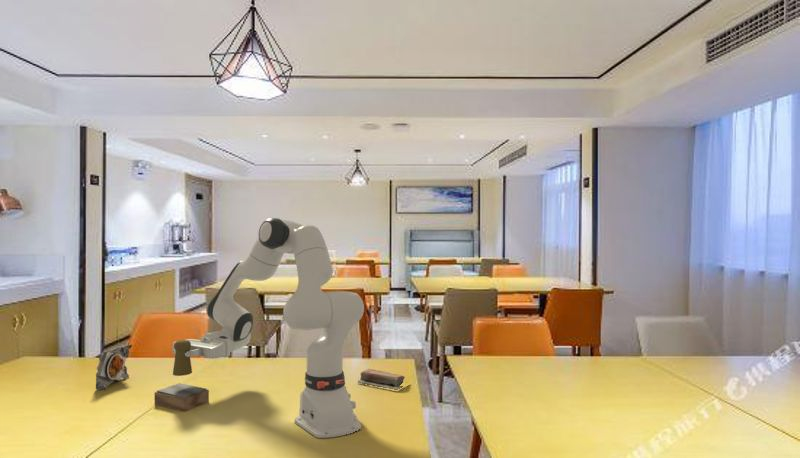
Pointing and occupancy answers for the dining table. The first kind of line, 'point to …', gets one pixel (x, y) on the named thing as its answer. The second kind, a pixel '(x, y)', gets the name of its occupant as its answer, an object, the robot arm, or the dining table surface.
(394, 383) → the packaged product
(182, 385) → the walnut riser
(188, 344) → the brown chess pawn
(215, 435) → the dining table surface
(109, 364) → the grey mechanical part
